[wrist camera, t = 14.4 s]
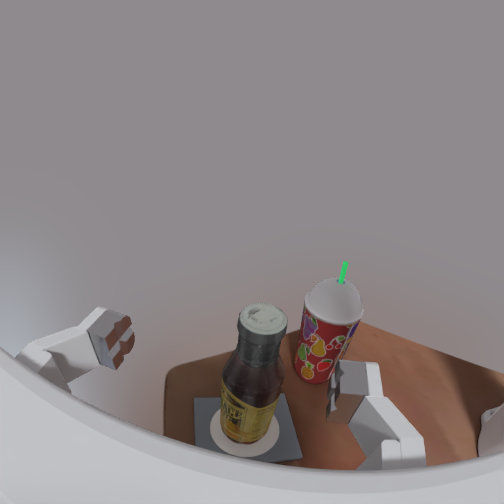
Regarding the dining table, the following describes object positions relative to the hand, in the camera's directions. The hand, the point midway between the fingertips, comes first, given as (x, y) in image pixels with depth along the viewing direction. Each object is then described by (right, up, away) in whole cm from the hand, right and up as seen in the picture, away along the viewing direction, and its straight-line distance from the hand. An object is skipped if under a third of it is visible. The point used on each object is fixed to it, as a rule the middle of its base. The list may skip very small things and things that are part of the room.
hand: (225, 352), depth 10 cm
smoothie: (+11, -16, +33) cm, 38 cm away
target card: (0, -20, +23) cm, 30 cm away
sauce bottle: (0, -19, +22) cm, 29 cm away
